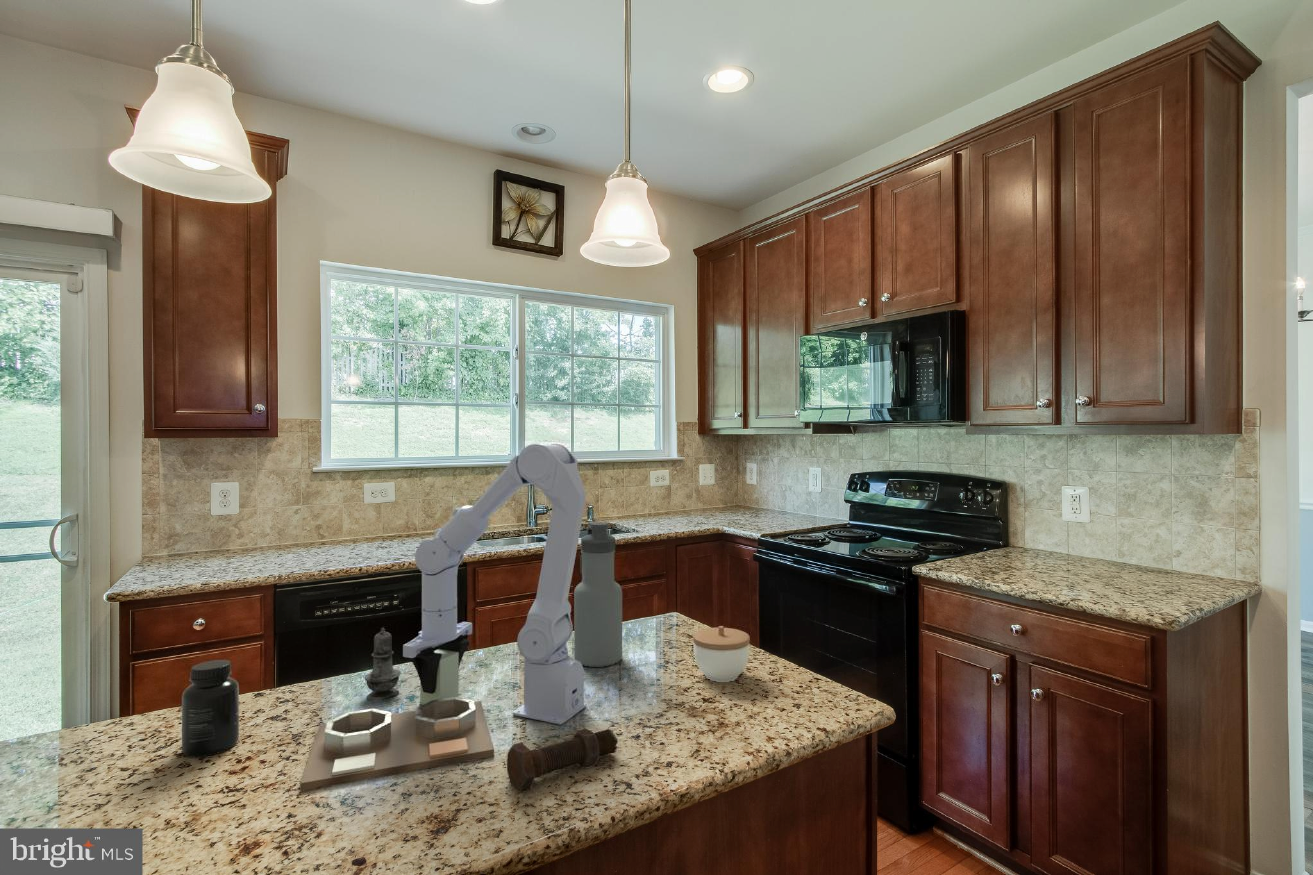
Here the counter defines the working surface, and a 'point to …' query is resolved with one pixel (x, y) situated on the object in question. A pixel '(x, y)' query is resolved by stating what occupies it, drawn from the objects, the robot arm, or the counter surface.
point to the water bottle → (597, 601)
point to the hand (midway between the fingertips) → (439, 686)
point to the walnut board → (396, 752)
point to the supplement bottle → (210, 710)
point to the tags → (369, 759)
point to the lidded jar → (721, 652)
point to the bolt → (557, 756)
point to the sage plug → (444, 678)
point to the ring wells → (382, 725)
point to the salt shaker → (382, 670)
